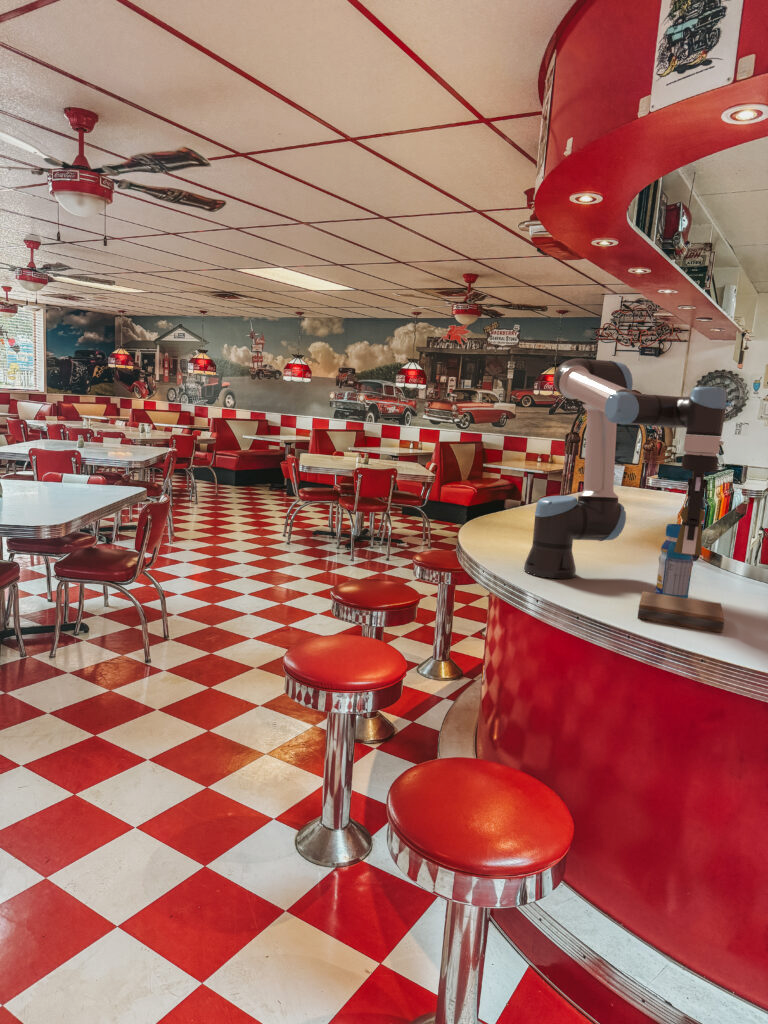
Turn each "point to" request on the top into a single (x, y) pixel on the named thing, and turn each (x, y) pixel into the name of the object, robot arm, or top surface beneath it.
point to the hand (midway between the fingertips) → (688, 551)
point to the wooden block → (681, 611)
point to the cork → (682, 530)
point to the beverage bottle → (673, 567)
